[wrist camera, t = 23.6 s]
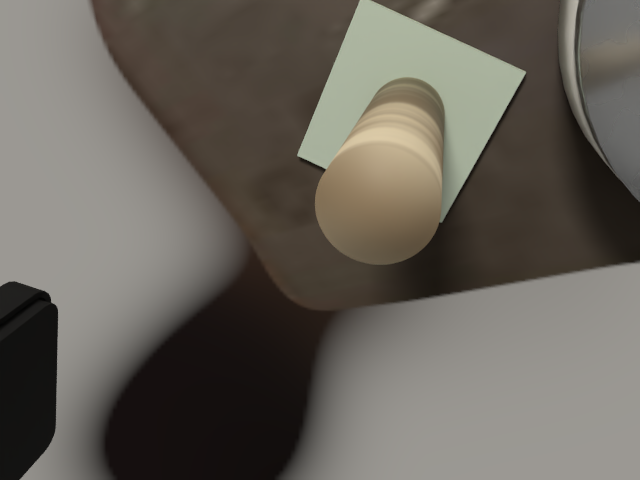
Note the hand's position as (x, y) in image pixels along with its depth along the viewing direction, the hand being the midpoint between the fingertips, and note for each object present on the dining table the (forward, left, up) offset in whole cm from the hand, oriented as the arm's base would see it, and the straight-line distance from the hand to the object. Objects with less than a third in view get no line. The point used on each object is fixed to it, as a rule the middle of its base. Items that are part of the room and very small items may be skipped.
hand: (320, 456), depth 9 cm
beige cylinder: (0, 0, -25) cm, 25 cm away
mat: (0, 0, -25) cm, 25 cm away
